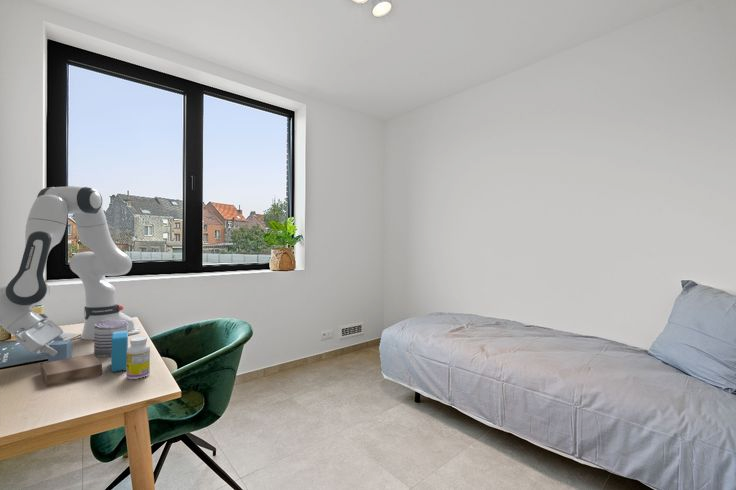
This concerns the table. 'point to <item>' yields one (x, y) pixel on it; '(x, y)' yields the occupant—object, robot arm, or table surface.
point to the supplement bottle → (138, 358)
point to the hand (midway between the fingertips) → (61, 350)
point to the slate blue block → (61, 350)
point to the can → (106, 335)
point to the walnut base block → (70, 369)
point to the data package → (119, 351)
